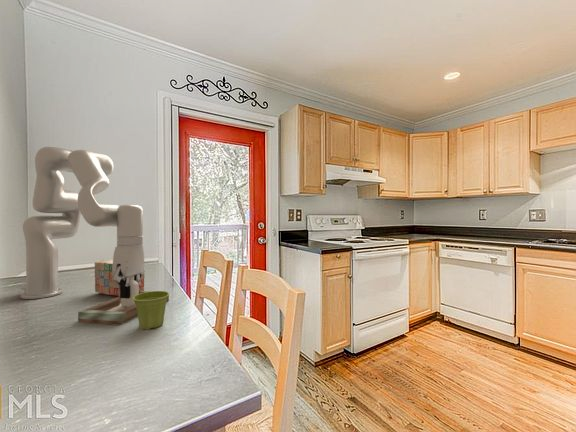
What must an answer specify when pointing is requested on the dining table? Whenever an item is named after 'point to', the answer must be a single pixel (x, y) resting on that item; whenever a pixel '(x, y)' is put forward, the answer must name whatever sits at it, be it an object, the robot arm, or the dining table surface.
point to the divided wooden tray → (109, 312)
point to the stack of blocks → (109, 279)
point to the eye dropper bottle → (131, 292)
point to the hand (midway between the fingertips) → (129, 295)
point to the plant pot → (151, 308)
